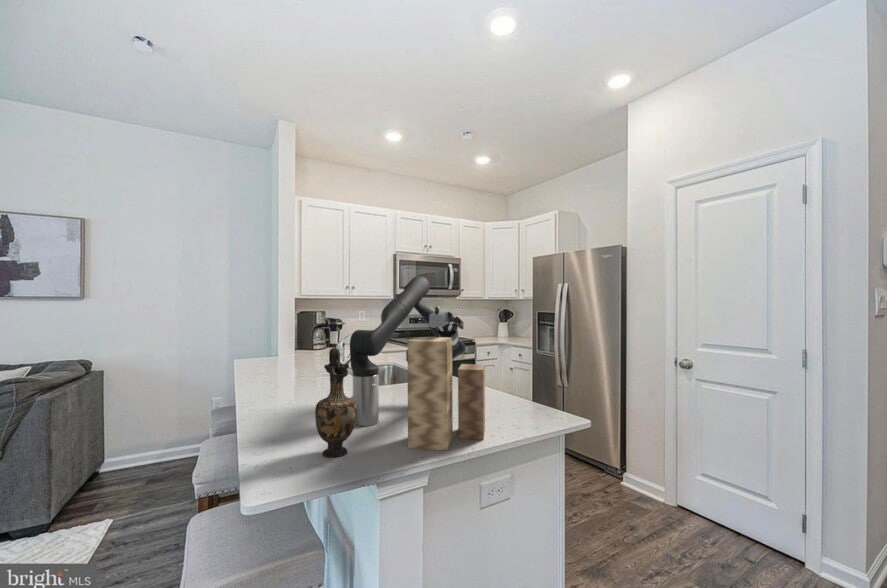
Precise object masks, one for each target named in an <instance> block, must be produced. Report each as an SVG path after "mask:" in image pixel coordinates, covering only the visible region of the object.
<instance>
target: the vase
mask: <svg viewBox="0 0 887 588" xmlns="http://www.w3.org/2000/svg"><path fill="white" fill-rule="evenodd" d="M328 358H329V363H328V364H325V365H324V370H326V373H328V374H329V380H330V381H329V394H328V396H327V397H325V398H324V397H323V399H320V400H318V402H317V403H316V405H315V409H314V419H315V427H316V431H317V434H318V436H319V438H321V440H323V441H324V442H325V443H327V448H326V449H324V450H323V451H322V454H321V455H322V456H323V457H324V458H328V459H331V458H332V459H334V458H341V457H344V456H346V455H347V454H348V453H349V451H348V448H346V447H345V446H343V444H344V442H345V441H346V440H348V439H349V438H350V436H351V435H352V433H353V431H354V428H355V426H356V425H355V421H356V415H357V404H356V402H355V400H353V399H351V397H348V396H346V395H345V391H344V378H345V377H347V376H348V375H349V371H348V369H349V368H350V364H348V363H342V362H341V353H340V349H339V348H338V347H332V348H330V350H329V355H328Z"/></svg>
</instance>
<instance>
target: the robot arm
mask: <svg viewBox="0 0 887 588" xmlns="http://www.w3.org/2000/svg"><path fill="white" fill-rule="evenodd" d="M430 287H431V285H430V281H429V280H428V278H426V277H424V276H422V275H418V276H414V277H413V278H412V279H411V280H410V281H409V282H408V283H407V284H406V285H405V286H404V288H403V291H402V292H400V293H399V294H398V295H396V296H395V297H394V298H393V299H392V300H391V301H390V302H388V304H386V306H384V307H383V309H382V311H381V314H380V320H381V323H380V324H379V326H377V327H376V328H374V329H356V330H354V331H353V332H352V334H351V336H350V339H349V356H350V358H349V359H350V360H349V361H350V369H351V370H352V396H351V397H350V398H351V399H353V400H355V402H356V404H357V415H356V421H355V425H354V426H360V427H365V426H366V427H367V426H368V427H369V426H372V425H376V424H378V423H379V421H380V415H379V414H380V411H379V410H380V409H379V408H380V407H379V406H380V402H379V401H380V399H379V397H380V394H379V391H380V390H379V385H380V384H379V382H380V381H379V380H380V379H379V378H380V375H379V374H380V373H379V369H380V368H379V366H378V365H377V364H375V363H373V362H372V361H371V360H370V359H369V357H375V356H377V355H379V354H380V353H381V352H382V351H383V349H384V348H385V346H386V345H387V343H388V342H389V340H390V338H391V337H392V336H393V334H394V333H395V332H396V331H397V330H398V328H399V326H401V324H403V323H404V321H405V319H407V318H408V316H409V315H410V313H411V312H412V310H413V309H415V310H416V311H417V312H418V314H419V315H420V316H421V317H422V318H423V319H424V321H425V322H426V323H427V324H428V329H429V330H431V331H432V334H434V336H435V337H441V338H452V360H454V359H455V358H458V357H459V356H460V355H462V354H463V353H465V352H466V349H467V348H466V344H465V342H463V340H461V338H459V331H458V329H461V330H464V327H465V326H464V325H465V323H464V321H463V320H462V319H461V318H460V317H459V316H455V317H454V315H453V313H452V312H451V311H447V312H448V319H449V321H450V323H448V324H447V325H445V326H443V327H429V315H430V314H433V313H435V310H432V309H431V307H428V306H427V304H426V303H425V302H424V300H423V298H424V297H425V296H426V295H427V294H428V293H429V291H430Z"/></svg>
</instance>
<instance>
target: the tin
mask: <svg viewBox="0 0 887 588" xmlns="http://www.w3.org/2000/svg"><path fill="white" fill-rule="evenodd" d="M434 312H435V313H433V314H430V315H429V325H428V328H429V327H443V326H445V325H447V324H448V323H450V321H449V319H448V312H449V311H440V306H434Z"/></svg>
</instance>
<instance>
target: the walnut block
mask: <svg viewBox="0 0 887 588" xmlns="http://www.w3.org/2000/svg"><path fill="white" fill-rule="evenodd" d="M485 379H486V365H485V364H483V363H480V364H479V363H478V364H477V363H475V364H474V363H461V364H460V366H459V367H458V369H457V395H458V396H457V404H458V405H457V406H458V407H457V408H458V409H457V410H458V411H457V414H458V416H457V417H458V418H457V421H458V427H457V429H458V430H457V431H458V432H457V433H458V439H462V440H463V439H464V440H465V439H466V440H480V441H482V440H484V438H485V433H486V380H485Z"/></svg>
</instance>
